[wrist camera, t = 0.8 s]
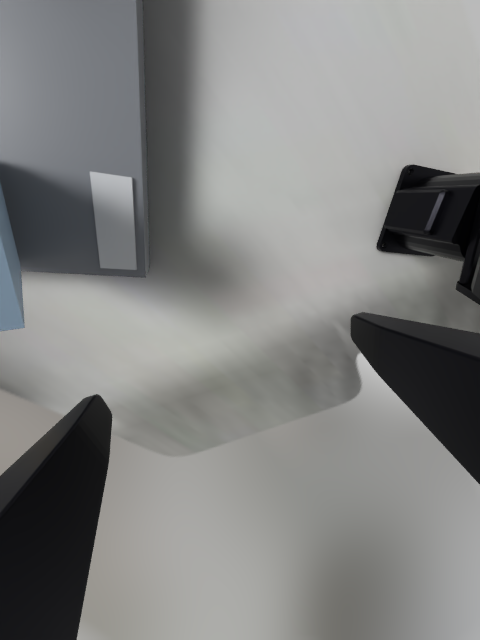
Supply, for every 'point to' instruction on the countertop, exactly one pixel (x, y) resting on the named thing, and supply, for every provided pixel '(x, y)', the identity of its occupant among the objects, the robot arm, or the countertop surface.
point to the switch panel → (75, 135)
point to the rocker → (9, 275)
